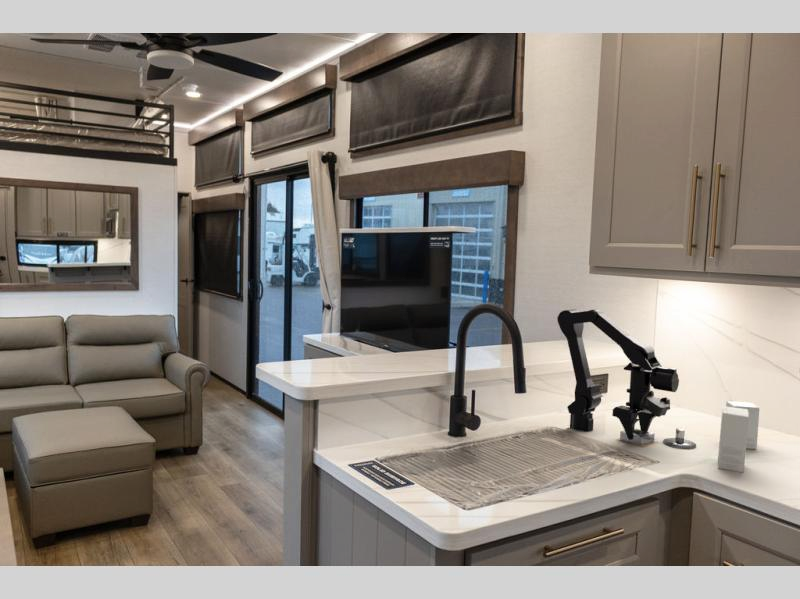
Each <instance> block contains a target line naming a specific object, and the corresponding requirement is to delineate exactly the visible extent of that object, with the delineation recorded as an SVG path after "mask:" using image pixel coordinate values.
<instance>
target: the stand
mask: <svg viewBox="0 0 800 599" xmlns="http://www.w3.org/2000/svg"><path fill="white" fill-rule="evenodd" d="M637 429H638V428H636V429H634V434H638V435H642V431H641V429H639V430H637ZM615 441H617V442H620V443H621V442H622V443H625V444H629V445H631V446H632V445H633V446H636V447H639V448H646V447H648V446H653V445H655V444H659V443H660V442H659V441H656V440H654V442H652V443H649V444H646V445H643V446H639V445H636V444H632V443H629V442H625V441H622V440H620V437H619V438H616V439H615Z"/></svg>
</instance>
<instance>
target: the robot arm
mask: <svg viewBox="0 0 800 599" xmlns="http://www.w3.org/2000/svg"><path fill="white" fill-rule="evenodd" d="M556 319H557V323H558V326H559V328H560V329H559V330H561V332H562V334H563V335H564V337H565V338H566V341H567V346H568V349H569V355H570V360H571V362H572V363H571V364H572V368H573V374H574V377H575V388H574V400H573V401H572V402H571V403H570V404H569V405H568V406H567V407H566V408H567V411H568V414H570V418H569V427H567V428H566V430H569V429H573V430H575V431H580V432H588V433H590V432H593V431H594V420H595V419H594V418H593V415H594V413H592V412H595V410H596V408H597V407H598V406H600V404H601V403H602V397H603V394H602V391H601V384H599V383H598V384H595V382H594V381H593V380H592V377H591V376H592V375H591V371H590V368H589V363H588V358H587V353H586V349H585V344H584V340H583V331H584V327H585V326H584V323H592V324H593V325H594V326H595V327H596V328H598V330H600V331H601V332H603V333H604V335H606V336H607V337H608V338H609V339H611V341H613V342H614V343H615V344H616V345H618V346H619V348H620V349H621V350H622V352H623V354H624V355H625V356H626V358H627V359H628V361H630V362H629V363H628V364H627V365H626V366H624V367H623V370H624V371H629V372H630V374H629V375H630V377H629V378H630V380H629V381H630V382H629V388H626V393H629V395H628V396H629V398H628V401H626V402H625V405H619V406H615V407H614V408H613V409H612V414H611V416H612V417H614V418H615V417H616V418H617V419H619V422H620V424H621V425H622V428H623V431H624V430H625V433H626V435H627V437H628V439H629V440H632V438H633V433H634V428H635V426H636V424H637V422H639V428H640V429H639V430H643V431H647V432H649V429H650V425H651V423H652V421H653V420H654V419H655V418H656V417H658V418H661V417H662V416H666V414H667V412H668V410H671V400H670V398H668V397H667V396H665V397H664V396H663V397H661V398H660V397H656V396H655V393H654V391H653V390H651V387H652V388H653V389H654V390H658V391H665V392H671V393H676V392H677V391H678V388H679V384H680V379H679V375H678V373H677V368H674V367H663V366H662V365H661V363H660V361H659V360H658V358H657V357H656V354H655V349H654V348H653V347H652V346H651V345H650V344H648V343H646V342H645V341H643V340H641V339H639V338H636V337H634V336H632V335H630V334H629V333H628V332H627V331H625V330H624V329H623V328H622V327H620V325H618V324H617V323H616V322H615V321H613V320H612V319H611V318H609V317H608V315H606V314H605V313H604V312H603V311H602V310H601V309H598V308H596V309H595V308H594V309H589V310H585V311H579V310H578V309H574V308H573V309H566V310H565V309H564V310H561V312H559V313H558V315H557V318H556Z"/></svg>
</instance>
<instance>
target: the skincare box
mask: <svg viewBox="0 0 800 599" xmlns="http://www.w3.org/2000/svg"><path fill="white" fill-rule="evenodd" d="M748 424H749V412H748V409H742V408H733V407H726V405H723V406H722V411H721V421H720V432H719V433H720V434H719V444H718V455H717V458H718V460H717V468H718V469H722V470H726V471H732V472H740V473H744V472H745V464H746V463H745V462H746V452H747V448H746V446H747V435H748Z"/></svg>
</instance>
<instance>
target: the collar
mask: <svg viewBox="0 0 800 599" xmlns="http://www.w3.org/2000/svg"><path fill="white" fill-rule="evenodd" d="M634 429H637V430H641V429H639V428H635V427H634ZM641 431H642V435H638V434H634V433H633V438H632V440H629V439H628V437H627V435H626V433H625V430H624V429H623V430H621V431H620V435H619V438H620V440H622V441H625V442H629V443H632V444H636V445H639V446H643V445H646V444H649V443H652V442H654V441H655V433H653V432H650V431H643V430H641ZM625 442H624V443H625ZM632 444H631V445H632Z"/></svg>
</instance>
